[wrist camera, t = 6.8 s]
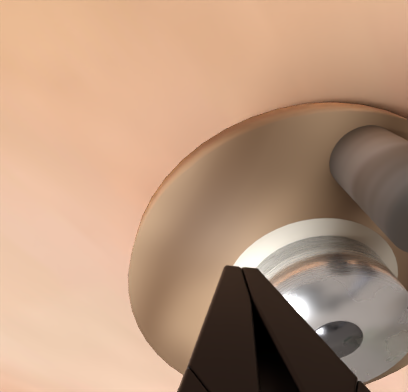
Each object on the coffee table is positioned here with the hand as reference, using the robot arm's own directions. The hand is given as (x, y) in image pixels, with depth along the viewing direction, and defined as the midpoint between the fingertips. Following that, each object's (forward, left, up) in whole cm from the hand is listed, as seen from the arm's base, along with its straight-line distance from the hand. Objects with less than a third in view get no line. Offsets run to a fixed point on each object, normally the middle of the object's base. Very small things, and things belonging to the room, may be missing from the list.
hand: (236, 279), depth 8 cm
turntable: (-6, +7, -9) cm, 13 cm away
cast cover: (-7, +7, -7) cm, 12 cm away
